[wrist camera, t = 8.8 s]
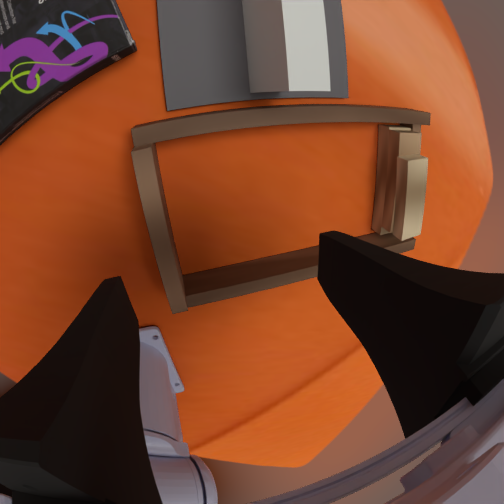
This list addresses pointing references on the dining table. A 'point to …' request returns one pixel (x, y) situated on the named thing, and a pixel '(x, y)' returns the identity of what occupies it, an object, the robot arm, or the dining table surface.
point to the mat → (227, 53)
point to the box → (53, 51)
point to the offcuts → (399, 182)
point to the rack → (260, 270)
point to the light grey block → (286, 45)
